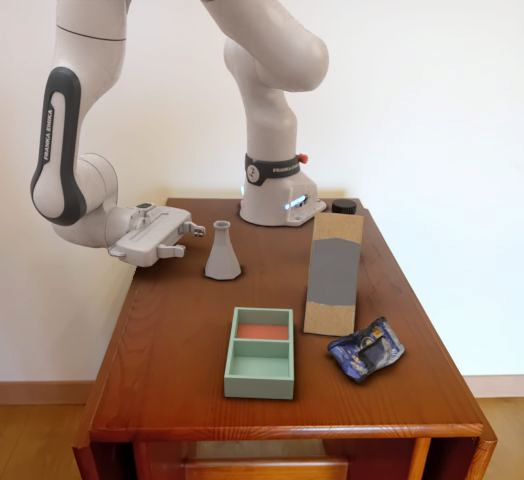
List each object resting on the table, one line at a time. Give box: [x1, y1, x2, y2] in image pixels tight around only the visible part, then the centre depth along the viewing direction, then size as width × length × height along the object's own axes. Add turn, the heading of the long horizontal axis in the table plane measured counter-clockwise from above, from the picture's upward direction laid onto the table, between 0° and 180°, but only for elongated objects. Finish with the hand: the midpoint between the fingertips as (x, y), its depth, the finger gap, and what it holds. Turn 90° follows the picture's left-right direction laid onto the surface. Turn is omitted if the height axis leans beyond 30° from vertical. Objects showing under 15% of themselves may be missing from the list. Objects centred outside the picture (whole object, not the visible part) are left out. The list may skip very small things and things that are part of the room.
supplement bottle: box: [330, 198, 358, 215], centre depth 108 cm, size 7×7×12 cm
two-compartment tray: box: [223, 306, 295, 400], centre depth 82 cm, size 18×10×4 cm, turn 178°
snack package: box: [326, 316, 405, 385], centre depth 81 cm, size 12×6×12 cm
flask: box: [204, 220, 242, 280], centre depth 103 cm, size 7×7×10 cm
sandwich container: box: [303, 211, 365, 337], centre depth 90 cm, size 9×15×15 cm, turn 172°
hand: (194, 241), depth 104 cm, fingers open, 8 cm apart
